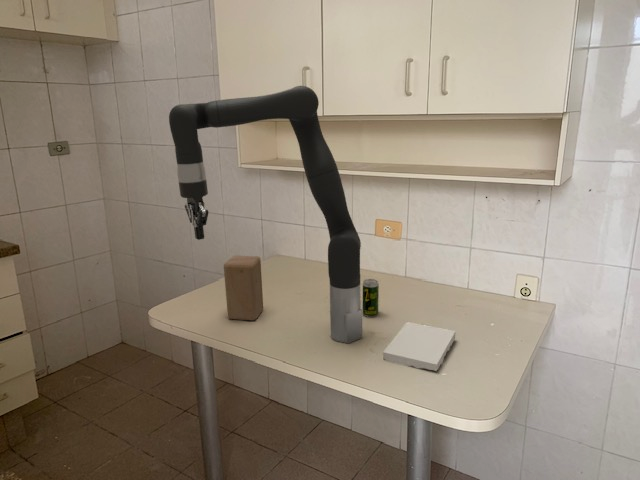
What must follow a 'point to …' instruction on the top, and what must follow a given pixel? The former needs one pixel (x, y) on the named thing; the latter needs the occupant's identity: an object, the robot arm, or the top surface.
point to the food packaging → (419, 346)
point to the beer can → (370, 298)
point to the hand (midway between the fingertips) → (200, 238)
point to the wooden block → (243, 287)
